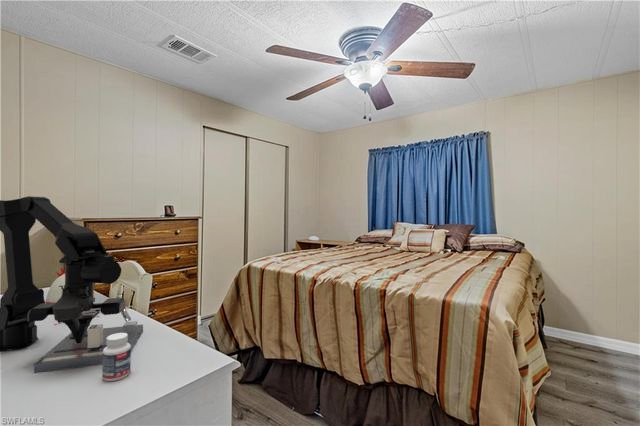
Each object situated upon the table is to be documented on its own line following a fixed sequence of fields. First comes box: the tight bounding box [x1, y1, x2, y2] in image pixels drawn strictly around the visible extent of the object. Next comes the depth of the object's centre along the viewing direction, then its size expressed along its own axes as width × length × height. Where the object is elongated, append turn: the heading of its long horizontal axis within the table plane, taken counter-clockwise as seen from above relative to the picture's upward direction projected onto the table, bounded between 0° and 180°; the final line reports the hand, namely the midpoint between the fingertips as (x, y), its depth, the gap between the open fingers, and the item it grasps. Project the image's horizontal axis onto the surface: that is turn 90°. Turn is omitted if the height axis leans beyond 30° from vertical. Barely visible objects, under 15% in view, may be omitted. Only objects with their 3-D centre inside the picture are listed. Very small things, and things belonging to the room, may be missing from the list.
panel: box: [33, 320, 144, 374], centre depth 82 cm, size 18×20×4 cm
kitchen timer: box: [45, 267, 65, 303], centre depth 124 cm, size 14×14×15 cm
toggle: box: [120, 307, 132, 323], centre depth 89 cm, size 2×2×5 cm
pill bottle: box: [101, 333, 132, 382], centre depth 69 cm, size 5×5×9 cm
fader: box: [87, 323, 104, 348], centre depth 78 cm, size 2×3×5 cm
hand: (79, 342), depth 77 cm, fingers closed
